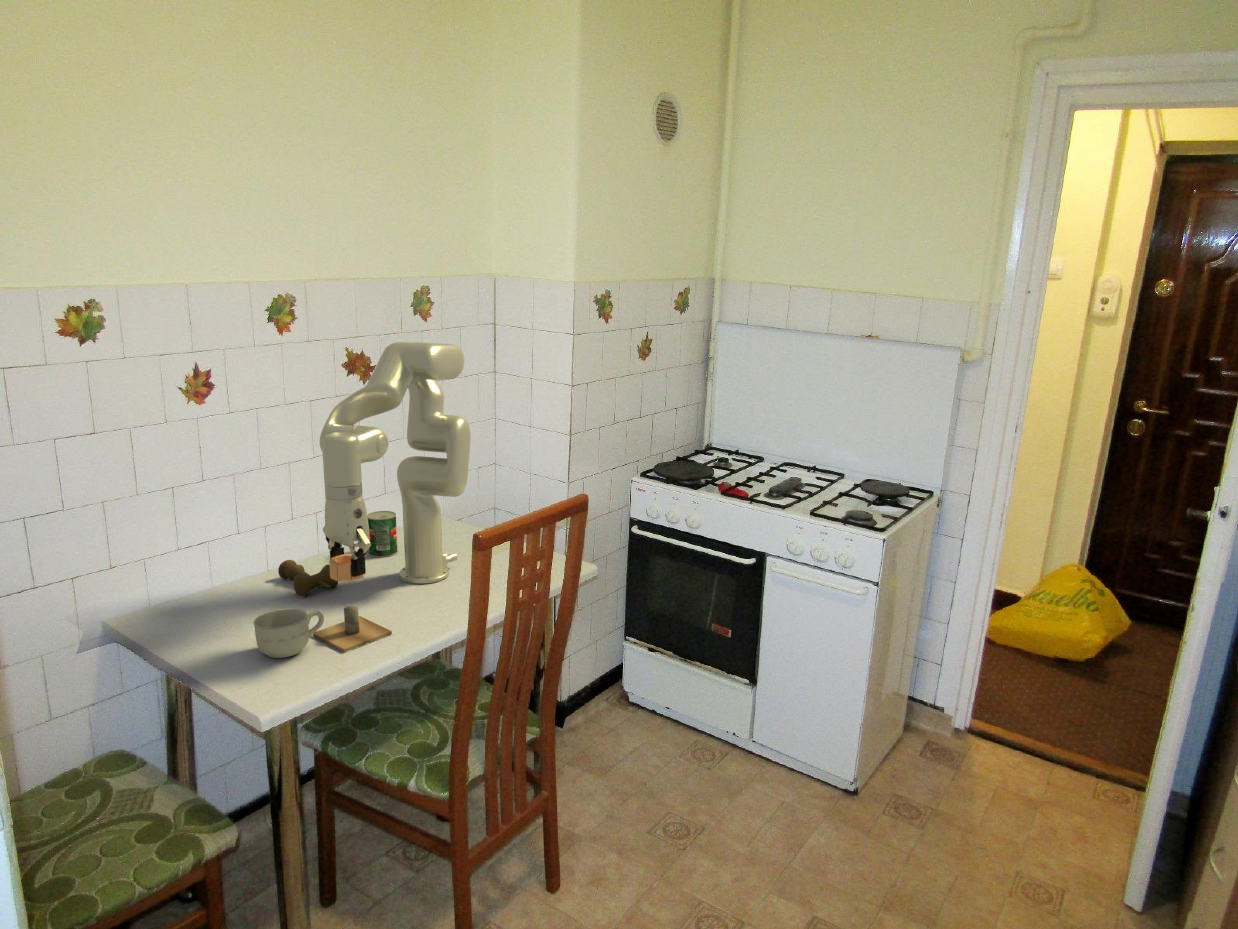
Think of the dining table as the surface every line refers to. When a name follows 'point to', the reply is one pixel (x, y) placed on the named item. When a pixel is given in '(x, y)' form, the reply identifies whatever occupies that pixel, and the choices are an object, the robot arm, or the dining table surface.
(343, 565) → the ring
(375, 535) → the canned tomato
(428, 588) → the dining table surface
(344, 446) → the robot arm
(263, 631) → the teacup
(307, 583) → the kendama
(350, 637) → the post plate
